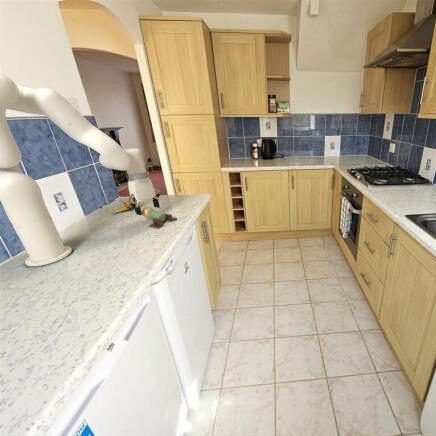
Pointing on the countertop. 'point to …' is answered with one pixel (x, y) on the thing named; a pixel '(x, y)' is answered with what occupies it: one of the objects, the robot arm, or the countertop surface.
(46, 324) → the countertop surface
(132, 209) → the origami crane
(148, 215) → the peg doll
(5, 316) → the countertop surface
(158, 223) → the stand
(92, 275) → the countertop surface
